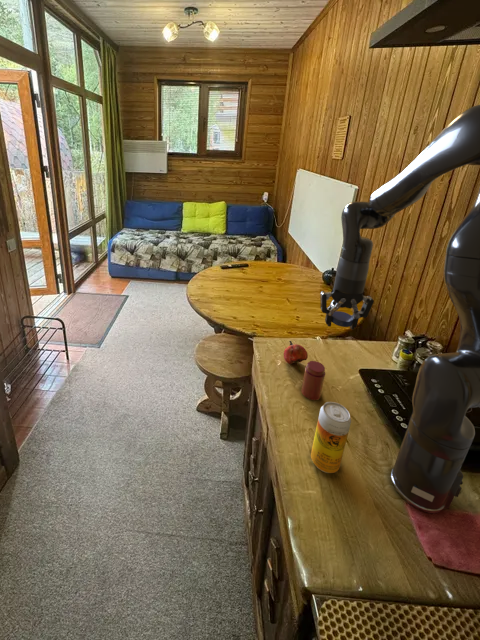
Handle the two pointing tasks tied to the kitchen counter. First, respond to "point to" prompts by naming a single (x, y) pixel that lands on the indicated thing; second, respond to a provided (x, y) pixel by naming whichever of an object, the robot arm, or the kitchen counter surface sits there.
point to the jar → (313, 380)
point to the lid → (342, 319)
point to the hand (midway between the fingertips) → (340, 326)
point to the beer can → (330, 437)
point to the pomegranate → (295, 354)
